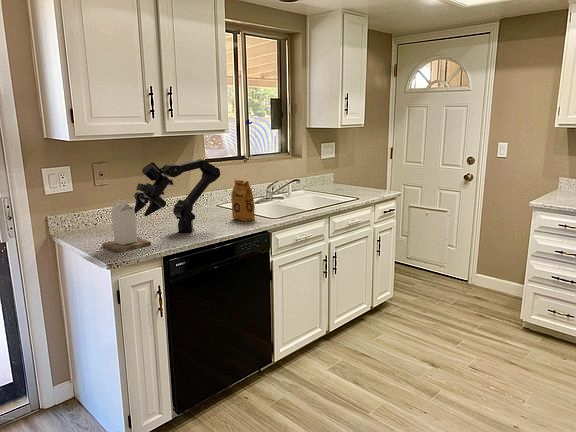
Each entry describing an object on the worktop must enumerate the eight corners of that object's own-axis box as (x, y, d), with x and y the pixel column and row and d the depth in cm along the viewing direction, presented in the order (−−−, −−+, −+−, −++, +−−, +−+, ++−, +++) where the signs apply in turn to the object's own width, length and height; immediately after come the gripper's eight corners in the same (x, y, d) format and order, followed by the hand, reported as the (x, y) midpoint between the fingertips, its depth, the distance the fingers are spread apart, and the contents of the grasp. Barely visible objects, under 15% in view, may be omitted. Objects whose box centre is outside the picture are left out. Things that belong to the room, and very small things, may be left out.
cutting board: (136, 239, 203) (136, 236, 203) (151, 245, 194) (150, 241, 193) (102, 246, 192) (101, 243, 192) (115, 252, 183) (115, 249, 182)
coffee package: (243, 223, 233) (241, 182, 228) (230, 219, 242) (228, 180, 237) (257, 220, 239) (256, 180, 234) (244, 216, 248) (243, 178, 243)
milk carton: (129, 239, 198) (125, 198, 194) (137, 241, 193) (133, 200, 189) (114, 242, 193) (110, 200, 188) (122, 245, 188) (118, 202, 184)
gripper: (135, 174, 202) (115, 201, 196) (158, 178, 190) (137, 206, 184) (152, 189, 209) (133, 215, 204) (174, 193, 197) (155, 221, 191)
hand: (139, 214), depth 195 cm, fingers open, 9 cm apart
